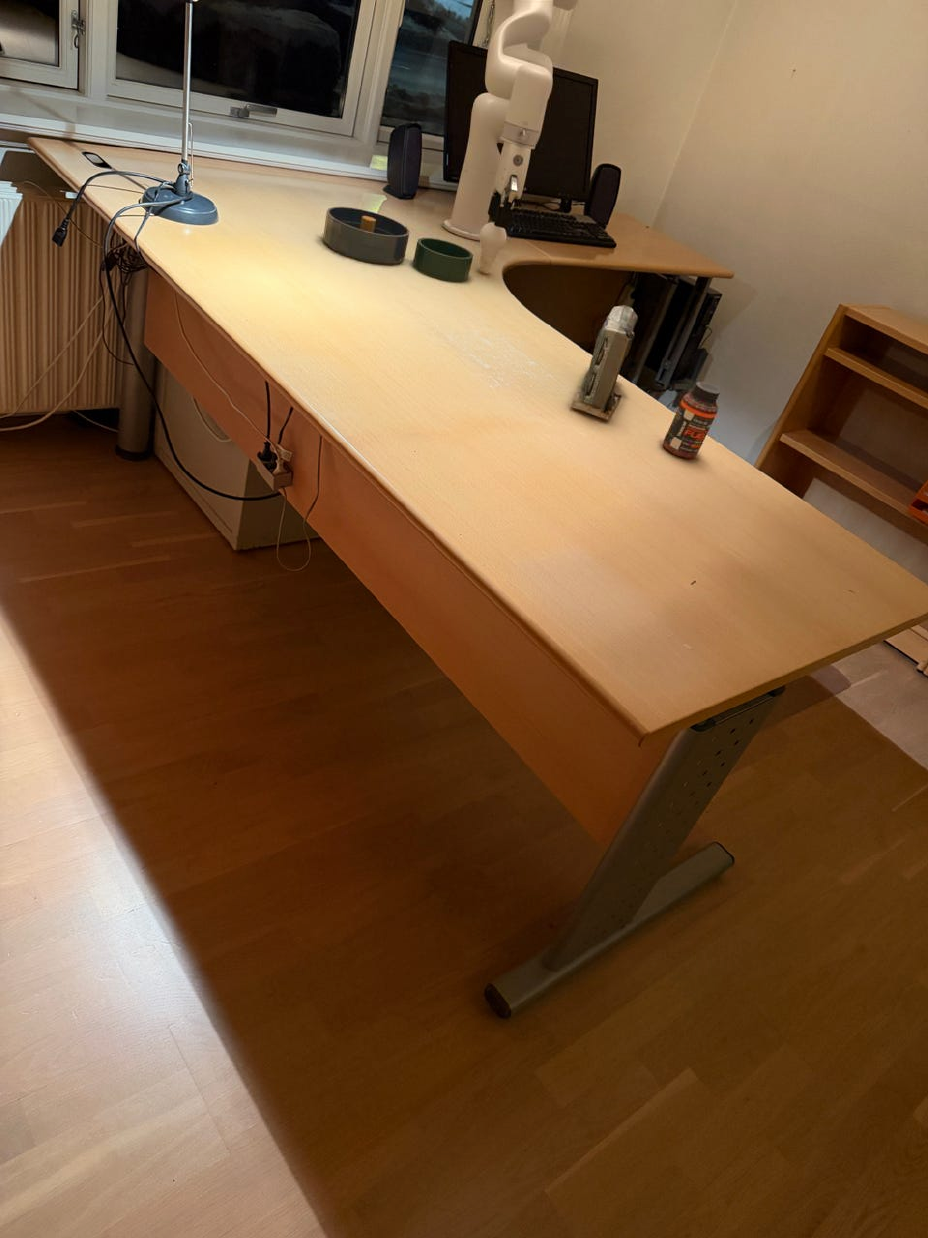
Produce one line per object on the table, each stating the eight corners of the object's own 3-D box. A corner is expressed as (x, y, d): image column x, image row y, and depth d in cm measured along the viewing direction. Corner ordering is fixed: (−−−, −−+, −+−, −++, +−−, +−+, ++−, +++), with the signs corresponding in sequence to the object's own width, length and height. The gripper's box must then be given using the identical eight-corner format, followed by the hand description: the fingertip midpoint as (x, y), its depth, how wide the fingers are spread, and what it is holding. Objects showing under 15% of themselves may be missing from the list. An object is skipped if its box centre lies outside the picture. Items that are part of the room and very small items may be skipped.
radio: (592, 369, 158) (620, 291, 149) (634, 386, 157) (665, 308, 148) (558, 405, 140) (588, 318, 131) (606, 424, 138) (639, 337, 129)
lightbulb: (493, 279, 189) (507, 229, 183) (468, 271, 189) (481, 220, 183) (498, 273, 194) (511, 224, 188) (473, 265, 194) (486, 216, 188)
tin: (410, 256, 187) (415, 233, 184) (464, 269, 190) (469, 246, 187) (414, 273, 177) (419, 249, 174) (470, 286, 180) (476, 263, 178)
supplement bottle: (675, 459, 134) (704, 394, 127) (655, 440, 138) (682, 376, 131) (703, 460, 137) (733, 396, 130) (682, 442, 141) (711, 379, 134)
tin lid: (333, 231, 185) (337, 202, 181) (392, 246, 188) (398, 217, 184) (333, 249, 174) (337, 218, 171) (395, 263, 178) (401, 234, 174)
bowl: (323, 229, 186) (327, 200, 183) (401, 247, 191) (407, 220, 187) (321, 252, 172) (326, 221, 169) (406, 271, 177) (412, 242, 173)
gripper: (544, 147, 169) (519, 235, 179) (529, 133, 183) (507, 216, 192) (509, 137, 167) (486, 227, 177) (496, 124, 181) (476, 208, 191)
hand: (497, 221), depth 185 cm, fingers open, 9 cm apart
